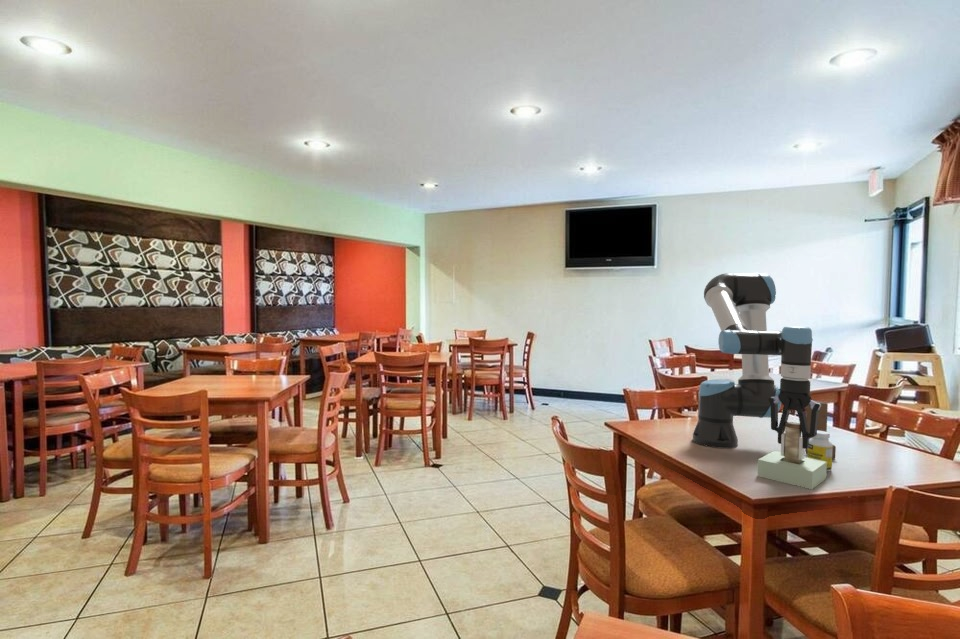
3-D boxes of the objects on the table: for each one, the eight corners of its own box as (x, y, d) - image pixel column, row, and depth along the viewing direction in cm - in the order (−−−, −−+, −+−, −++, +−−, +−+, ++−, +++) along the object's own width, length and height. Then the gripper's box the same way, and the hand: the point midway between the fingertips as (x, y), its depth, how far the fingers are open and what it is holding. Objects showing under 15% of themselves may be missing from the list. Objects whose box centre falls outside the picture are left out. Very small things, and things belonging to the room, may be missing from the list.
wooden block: (835, 459, 166) (837, 406, 165) (822, 459, 166) (824, 405, 165) (817, 451, 175) (819, 400, 174) (804, 451, 175) (806, 400, 174)
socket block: (757, 475, 148) (758, 459, 148) (773, 466, 158) (774, 450, 157) (812, 489, 138) (812, 471, 138) (826, 478, 147) (826, 461, 147)
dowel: (781, 469, 148) (783, 423, 147) (786, 466, 150) (788, 421, 150) (797, 473, 145) (799, 425, 144) (801, 470, 147) (803, 423, 147)
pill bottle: (802, 465, 159) (803, 429, 159) (822, 465, 159) (824, 429, 159) (815, 471, 153) (816, 434, 153) (836, 472, 153) (838, 435, 152)
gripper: (759, 376, 151) (756, 452, 151) (825, 383, 138) (822, 466, 139) (768, 374, 156) (765, 448, 156) (833, 381, 143) (829, 461, 144)
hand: (792, 456), depth 147 cm, fingers closed on dowel, 4 cm apart
